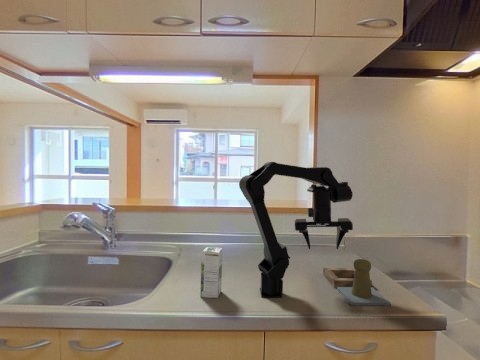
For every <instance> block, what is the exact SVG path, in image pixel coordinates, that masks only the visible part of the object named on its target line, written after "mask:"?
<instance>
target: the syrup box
mask: <svg viewBox="0 0 480 360" xmlns="http://www.w3.org/2000/svg"><path fill="white" fill-rule="evenodd" d="M223 249H224V248H222V247H217V246H207V247H205V248H204V249H203V250H202V251H201V268H200V294H199V295H200V298H207V299H208V298H210V299H211V298H212V299H218V298H220V295H221V292H222V284H223V283H222V280H223V279H222V277H223V276H222V275H223Z"/></svg>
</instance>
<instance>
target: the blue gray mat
mask: <svg viewBox="0 0 480 360" xmlns="http://www.w3.org/2000/svg"><path fill="white" fill-rule="evenodd" d="M336 290H337V291H338V293H340V294H341V296H342V297H343V298H344V299H345V300H346V302H348V304H349V305H350V306H387V307H388V306H391V302H390V301H389V300H388V299H386V298H385V297H384V296H383V295H382V294H381V293H380V292H378V291H377V290H376V289H375V288H374V287H373V286H372V287H371V293H372V297H370V298H360V297H357V296H354V295H353V294H352V293H351V292H352V287H337V288H336Z"/></svg>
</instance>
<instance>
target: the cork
mask: <svg viewBox="0 0 480 360" xmlns="http://www.w3.org/2000/svg"><path fill="white" fill-rule="evenodd" d="M353 268H355V275H354V277H353V278H354V281H353V286H352V292H351V293H352V294H353V295H354V296H357V297H360V298H370V297H372V293H371V284H370V280H371V275H370V271H371V269H372V263H371V261H369V260H367V259H364V258H357V259H355V260H354V261H353Z"/></svg>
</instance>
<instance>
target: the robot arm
mask: <svg viewBox="0 0 480 360" xmlns="http://www.w3.org/2000/svg"><path fill="white" fill-rule="evenodd" d="M333 174H334V173H333V171H332V169H331V168H330V167H327V166H325V167H324V166H322V167H321V166H320V167H318V166H316V167H315V166H311V167H303V166H299V165H290V164H284V163H279V162H276V161H267V162H265V163H264V164H263V165H262V166H260V167H259V168H258V169H255V170H254V171H252V172H251V173H250V174H249V175H248V174H247V175H244V176H242V178H241V179H240V180H239V182H238V186H239V189H240V191H241V193H242V194H243V197H245V200H246V201H247V202H248V203H249V205H250V207H251V210H252V213H253V217H254V219H255V222H256V225H257V228H258V230H259V234H260V236H261V239H262V242H263V257H264V258H263V259H262V260H261V261H260V262H259V264H258V265H257V267H258V269H259V270H258V271H259V272H260V287H259V292H260V297H261V298H282V296H283V295H282V294H283V292H284V291H283V290H284V288H283V287H284V286H283V285H284V280H283V279H284V277H285V273H286V271H287V269H288V267H289V266H290V259H291V256H290V255H289V253H288V248H287V246H285V245H283V244H282V243H280V242H279V241H278V238H277V236H276V233H275V230H274V226H273V224H272V220H271V218H270V214H269V211H268V209H267V206H266V204H265V195H266V194H265V193H266V191H265V186H266V185H267V184H268V183H269V182H270V181H271V180H272V178H273V177H274V176H283V177H289V178H296V179H301V180H304V181H306V182H309V183H312V184H311V185H310V186H309V187H308V188H307V189H306V192H308V193H312V196H313V197H312V198H313V199H312V200H313V204H312V205H313V207H308V208H307V215H308V216H307V217H308V218H312V220H313V221H307V219H306V218H296V219H295V220H294V231H296V232H298V233H299V234H302V236H303V237H304V239H305V241H306V245H307V247H308V250H311V241H310V236H309V231H308V228H336V239H335V245H336V246H335V247H336V248H335V249H336V250H338V249H339V247H340V245H341V242H342V240H343V238H344V237H345V235H346V233H347V234H348V233H349V232H350V231H353V230H354V227H353V225H354V223H353V222H352V221H351V219H349V217H345V218H342V217H340V218H339V217H338V218H337V220H336V221H335V220H334V221H333V220H332V203H342V202H343V203H344V202H350V201H351V200H352V198H353V195H354V194H353V193H354V192H353V191H352V188H351V186H349V183H348V181H340V182H339V181H338V180H337V179H336V177H335V176H334V175H333ZM317 185H318V186H317ZM319 185H320V186H319Z"/></svg>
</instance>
